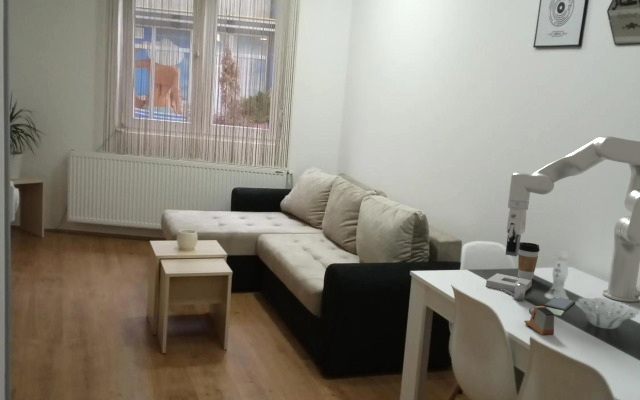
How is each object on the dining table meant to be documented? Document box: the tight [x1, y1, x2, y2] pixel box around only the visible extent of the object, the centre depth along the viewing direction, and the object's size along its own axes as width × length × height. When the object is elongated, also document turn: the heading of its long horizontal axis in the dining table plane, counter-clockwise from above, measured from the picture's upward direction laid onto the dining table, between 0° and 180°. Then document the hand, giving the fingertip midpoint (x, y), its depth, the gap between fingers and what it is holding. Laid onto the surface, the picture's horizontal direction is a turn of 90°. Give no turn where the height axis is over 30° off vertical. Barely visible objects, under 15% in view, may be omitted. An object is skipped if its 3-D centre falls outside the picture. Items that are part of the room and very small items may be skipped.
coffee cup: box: [517, 241, 540, 281], centre depth 246 cm, size 8×8×15 cm
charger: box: [505, 234, 522, 257], centre depth 231 cm, size 4×4×8 cm
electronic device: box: [523, 305, 556, 336], centre depth 185 cm, size 4×10×8 cm, turn 16°
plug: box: [513, 283, 526, 303], centre depth 215 cm, size 4×4×6 cm
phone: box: [543, 296, 576, 312], centre depth 214 cm, size 7×14×1 cm, turn 143°
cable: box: [501, 289, 514, 298], centre depth 223 cm, size 8×1×1 cm, turn 19°
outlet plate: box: [485, 272, 533, 293], centre depth 233 cm, size 14×14×2 cm
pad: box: [545, 307, 565, 317], centre depth 204 cm, size 6×6×1 cm
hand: (512, 250), depth 231 cm, fingers closed on charger, 4 cm apart
